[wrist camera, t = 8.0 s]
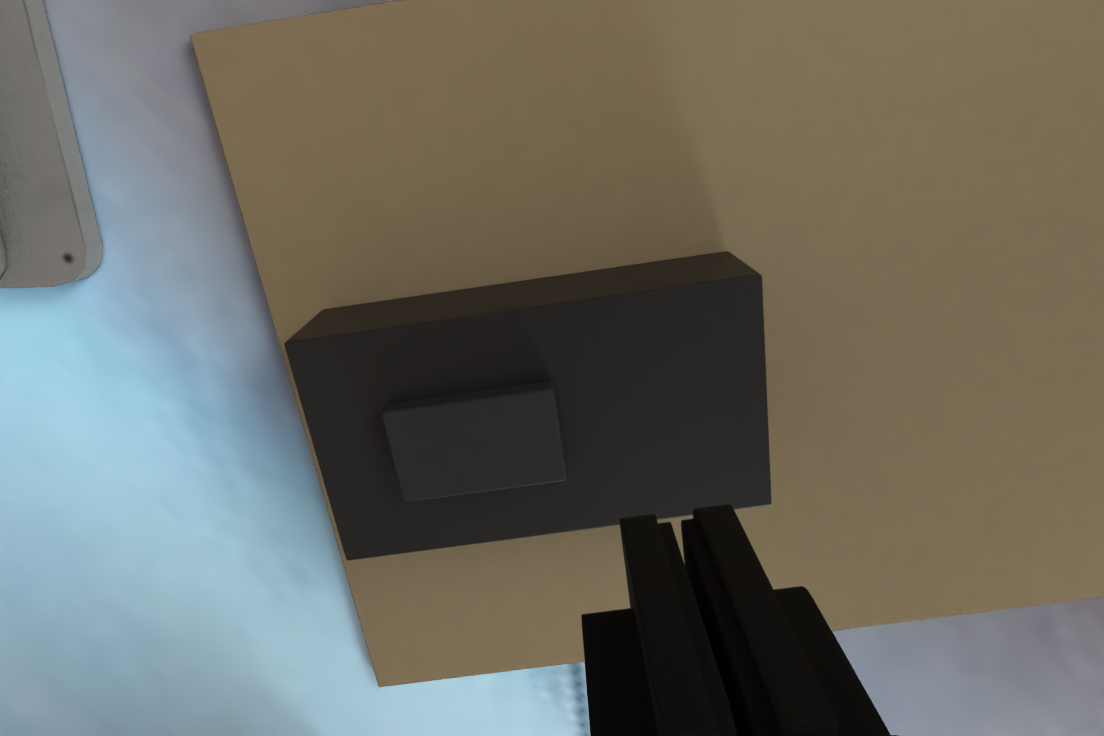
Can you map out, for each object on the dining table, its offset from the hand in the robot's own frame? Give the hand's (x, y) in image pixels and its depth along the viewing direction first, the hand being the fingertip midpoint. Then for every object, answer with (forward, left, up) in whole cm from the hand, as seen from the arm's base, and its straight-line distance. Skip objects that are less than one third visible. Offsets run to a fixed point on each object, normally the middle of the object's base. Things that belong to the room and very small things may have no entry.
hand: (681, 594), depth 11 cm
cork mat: (0, +4, -10) cm, 11 cm away
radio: (0, +3, -8) cm, 9 cm away
